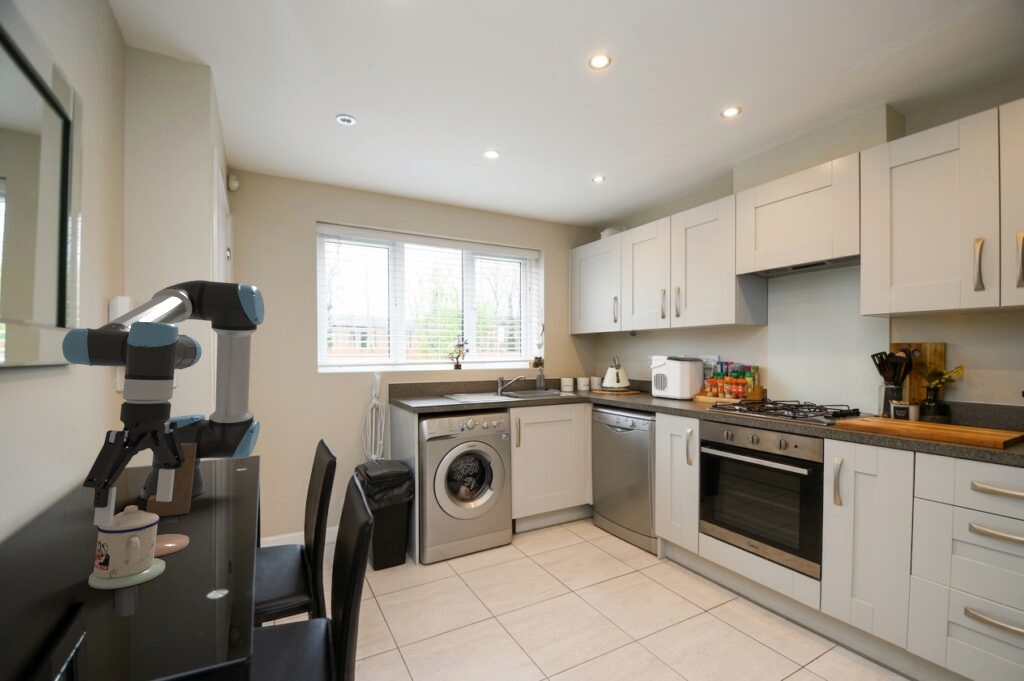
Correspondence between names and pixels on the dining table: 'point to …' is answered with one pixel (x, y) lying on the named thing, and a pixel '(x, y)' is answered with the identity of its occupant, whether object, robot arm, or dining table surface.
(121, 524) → the teacup with lid
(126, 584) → the sage coaster
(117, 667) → the dining table surface
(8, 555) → the dining table surface
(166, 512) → the wooden block
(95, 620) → the dining table surface
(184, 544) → the pink coaster
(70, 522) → the dining table surface
